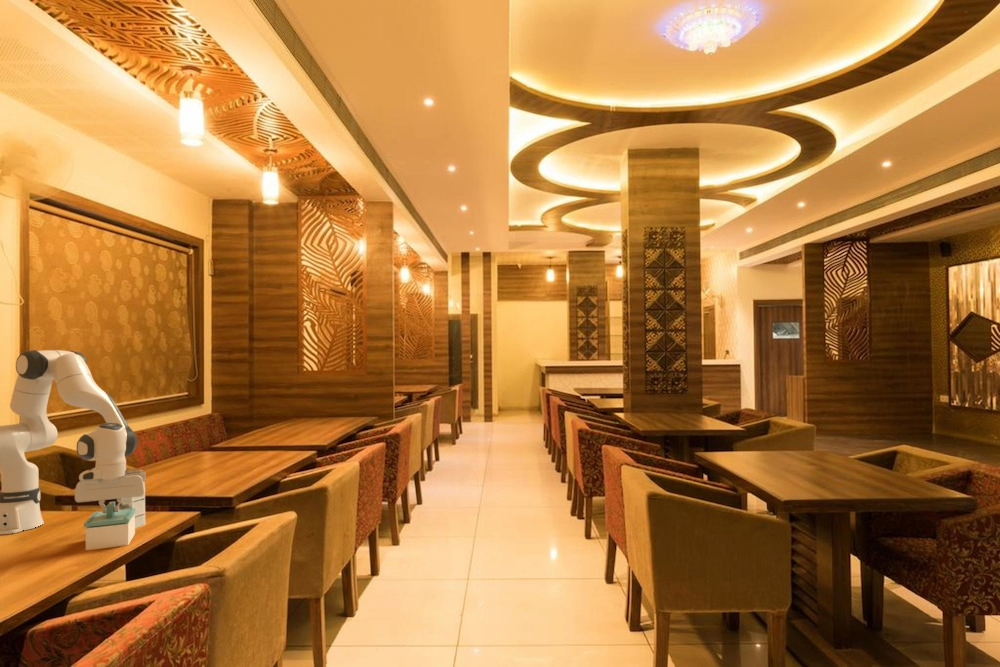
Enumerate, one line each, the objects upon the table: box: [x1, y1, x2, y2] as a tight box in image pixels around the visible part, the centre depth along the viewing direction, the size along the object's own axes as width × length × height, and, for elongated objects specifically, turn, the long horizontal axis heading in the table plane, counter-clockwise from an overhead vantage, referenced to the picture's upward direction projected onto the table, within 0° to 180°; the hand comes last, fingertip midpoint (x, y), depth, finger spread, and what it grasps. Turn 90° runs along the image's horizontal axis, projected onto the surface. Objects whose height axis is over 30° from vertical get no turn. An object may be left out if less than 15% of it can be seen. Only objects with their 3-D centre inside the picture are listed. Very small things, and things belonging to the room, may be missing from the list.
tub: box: [85, 514, 136, 551], centre depth 208 cm, size 12×14×8 cm
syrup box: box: [120, 493, 147, 529], centre depth 227 cm, size 6×6×14 cm
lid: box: [83, 501, 136, 528], centre depth 208 cm, size 13×15×6 cm
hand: (110, 512), depth 209 cm, fingers closed on lid
